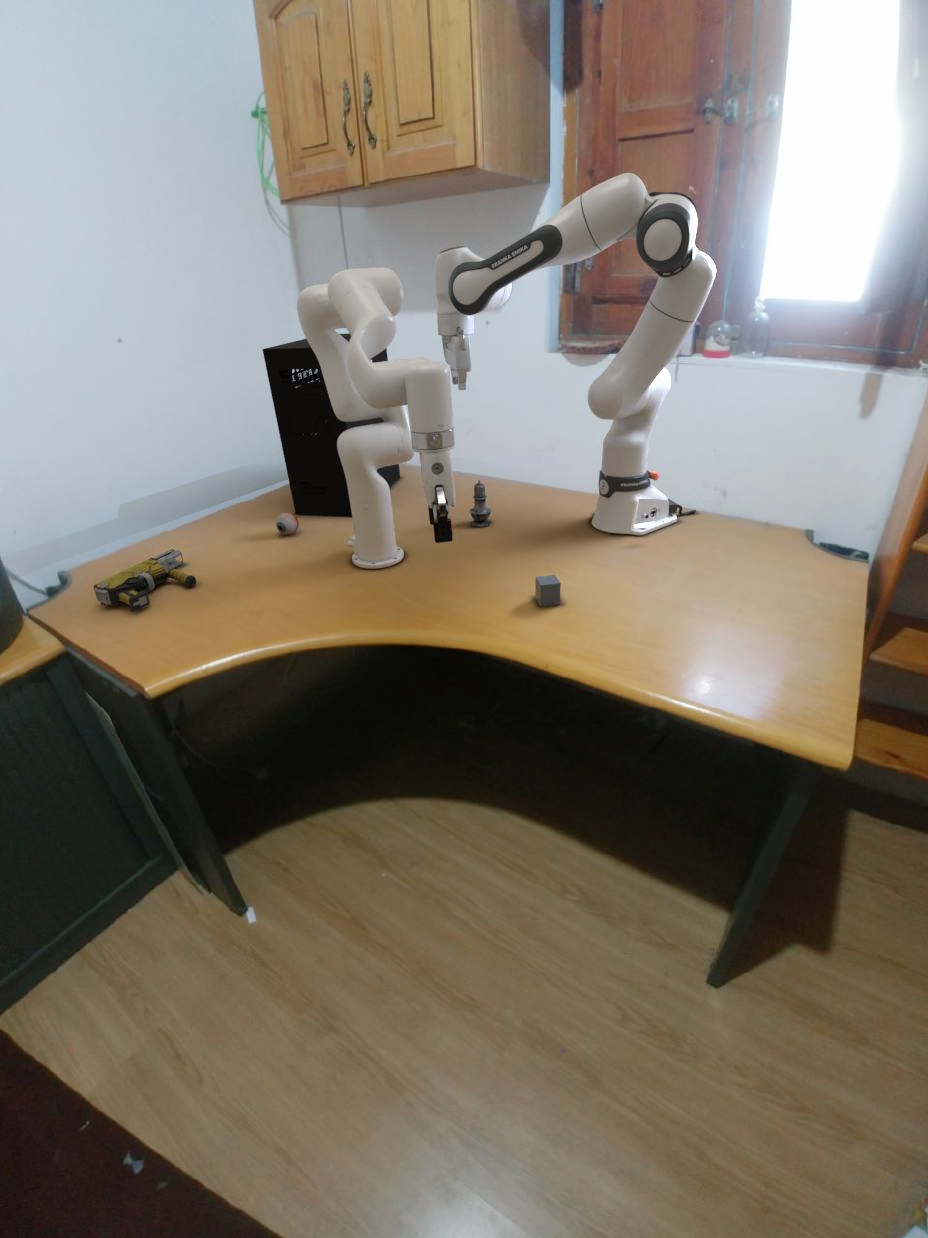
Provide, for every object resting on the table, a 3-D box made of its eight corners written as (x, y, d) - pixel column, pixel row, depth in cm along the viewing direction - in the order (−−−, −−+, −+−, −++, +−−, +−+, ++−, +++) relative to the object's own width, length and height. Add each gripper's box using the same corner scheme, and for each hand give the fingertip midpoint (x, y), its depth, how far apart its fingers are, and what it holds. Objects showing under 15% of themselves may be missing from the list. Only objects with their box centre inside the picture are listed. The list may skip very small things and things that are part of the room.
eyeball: (273, 537, 164) (268, 516, 161) (287, 528, 169) (282, 508, 166) (291, 539, 161) (286, 518, 158) (305, 530, 166) (301, 510, 163)
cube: (540, 607, 123) (540, 585, 120) (535, 598, 126) (535, 576, 124) (559, 604, 123) (560, 582, 121) (554, 595, 127) (554, 574, 124)
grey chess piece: (489, 527, 162) (488, 483, 156) (468, 526, 163) (466, 483, 157) (493, 519, 167) (491, 476, 161) (472, 518, 168) (470, 476, 162)
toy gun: (219, 557, 146) (169, 546, 150) (142, 598, 126) (87, 585, 129) (222, 574, 148) (172, 563, 152) (147, 618, 128) (92, 604, 132)
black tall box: (359, 516, 174) (334, 346, 152) (295, 513, 179) (262, 349, 156) (400, 477, 206) (384, 331, 183) (345, 476, 210) (323, 334, 188)
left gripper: (461, 448, 97) (467, 547, 106) (448, 427, 112) (454, 515, 121) (414, 453, 97) (424, 551, 105) (408, 431, 112) (417, 519, 120)
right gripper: (476, 328, 137) (479, 392, 144) (461, 322, 154) (464, 379, 161) (449, 330, 136) (453, 394, 143) (437, 324, 154) (441, 381, 161)
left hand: (440, 532), depth 113 cm, fingers open, 9 cm apart
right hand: (459, 386), depth 152 cm, fingers open, 8 cm apart
